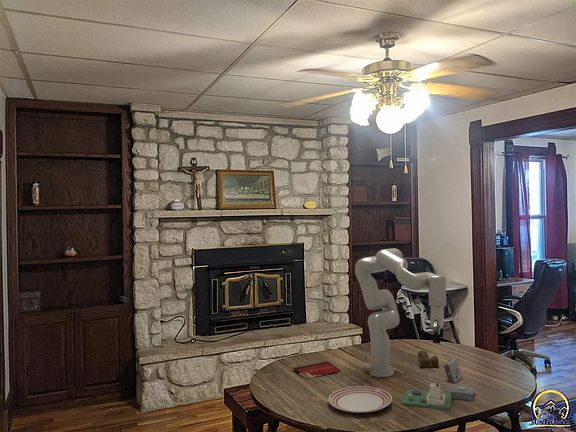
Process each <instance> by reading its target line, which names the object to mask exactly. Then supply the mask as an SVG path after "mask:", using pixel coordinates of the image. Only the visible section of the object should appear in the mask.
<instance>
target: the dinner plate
mask: <svg viewBox="0 0 576 432" xmlns="http://www.w3.org/2000/svg"><path fill="white" fill-rule="evenodd" d="M392 401H393V397H392V395H391V394H390V392H388V391H386V390H384V389H381V388H378V387H372V386H365V385H364V386H362V385H359V386H349V387H344V388H340V389H337V390H336V391H333V392H332V393H331V394H330V395H329V396H328V403H329V404H330V405H331V406H332V407H333V408H335V409H338V410H340V411H343V412H347V413H348V412H349V413H355V414H363V413H364V414H366V413H372V412H377V411H380V410H383V409H385V408H386V407H388V406H389V405H390V404H391V403H392Z"/></svg>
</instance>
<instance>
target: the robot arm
mask: <svg viewBox="0 0 576 432" xmlns="http://www.w3.org/2000/svg"><path fill="white" fill-rule="evenodd" d="M408 266H409V264H408V261H407V260H406V259H405V258H404V255H403V253H402V251H401V250H399V249H397V248H395V247H393V248H384V249H381V250H378V251H377V253H375V255H374V256H373V255H372V256H367V257H362V258H360V259H358V260H357V261H356V263H355V266H354V273H355V277H356V279H357V281H358V283H359V286H360V289H361V293H362V297H363V300H364V303H365V306H366V308H367V309H368V310H370V311H372V310H379V311H375V312H372V313H371V314H369V316H368V319H367V325H368V329H369V337H370V350H371V351H370V353H371V354H370V356H371V357H370V358H371V360H370V361H371V363H369V364H367V363H364V364H363V368H364V369H365V370H366V369H367V370H369V371H368V374H369V375H370V376H372V377H374V378H375V377H376V378H389V377H392V376H393V375H394V374H395V372H394V371H395V370H394V369H392V366H391V347H390V346H391V345H390V337H389V335H388V333H387V330H389V329H394V328H396V327H397V326H398V325H399V324H400V315H399V311H398V307H397V304H396V301H395V297H394V296H393V294H392V292H391V291H390V290H389V289H387V288H385V289H379V287H378V283H377V281H376V279H375V278H374V277H373V276H372V275H371V274H375V273H382V272H385V271H390V273H392V274H394V275H395V277H396V279H397V281H398V282H399V283H400V285H402V286H403V287H405V288H407V289H409V290H411V291H420V290H427V289H428V306H429V307H430V313H429V314H430V315H429V316H430V317H429V318H430V319H429V320H430V321H429V328H430V329H432V343H433V344H441V338H443V337H444V322H445V321H444V320H445V309H444V308H445V307H447V284H446V283H447V281H446V280H447V279H446V278H447V277H446V276H445V275H443V274H439V273H438V274H436V273H433V272H430V271H425V272H418V273H417V272H416V273H412V272H410V271H408V268H409V267H408ZM380 309H382V310H380Z"/></svg>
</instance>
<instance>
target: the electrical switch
mask: <svg viewBox="0 0 576 432" xmlns="http://www.w3.org/2000/svg"><path fill="white" fill-rule="evenodd" d="M443 369H444V371H445V375H446V378H447V381H448V382H452V383H454V384H456V383H457V382H459V380H461V379H462V378H463V375H462V372H461V369H460V365H459V363H458V360H457V358H454V359H452V360H450V361H448V362H446V363H445V364H444V365H443Z"/></svg>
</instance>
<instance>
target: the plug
mask: <svg viewBox="0 0 576 432" xmlns="http://www.w3.org/2000/svg"><path fill="white" fill-rule="evenodd" d="M429 391H430V398H431V399H437V400H441V383H440V382H438V381H437V382H436V383H430V384H429Z"/></svg>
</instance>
